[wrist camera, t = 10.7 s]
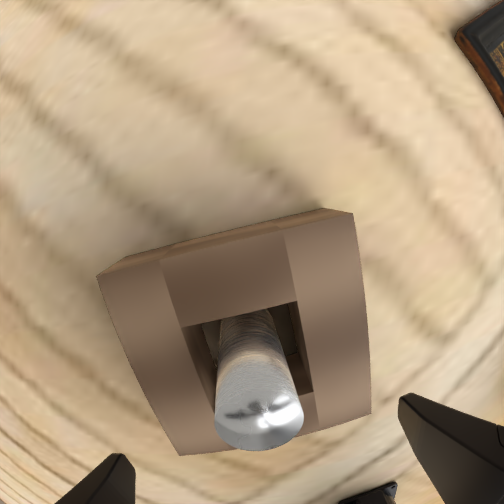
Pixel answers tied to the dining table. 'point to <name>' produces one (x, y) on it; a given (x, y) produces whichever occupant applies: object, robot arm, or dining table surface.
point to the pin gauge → (254, 385)
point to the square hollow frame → (240, 302)
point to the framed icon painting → (486, 49)
